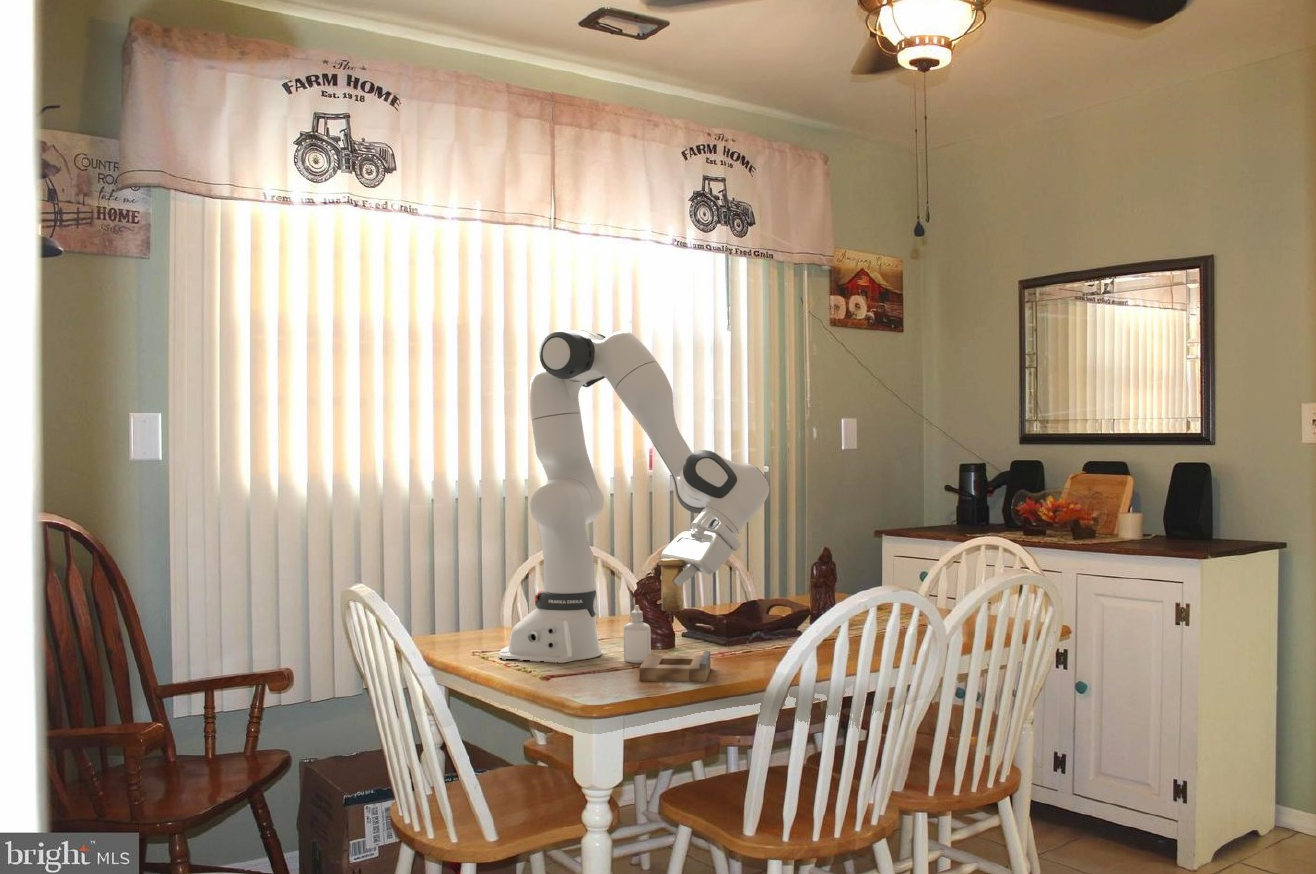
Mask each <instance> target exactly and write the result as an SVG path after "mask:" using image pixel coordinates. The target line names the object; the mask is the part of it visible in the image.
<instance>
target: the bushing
mask: <svg viewBox="0 0 1316 874" xmlns="http://www.w3.org/2000/svg"><path fill="white" fill-rule="evenodd" d="M658 565H659V566H660V573H661V574H660V577H661V579H660V580H661V583H660V585H661V611H663V612H665V611H666V612H680V611H684V609H685V607H684V606H685V604H684V603H685V602H684V601H685V600H684V599H685V597H684V596H685V595H684V591H685V590H684V584H683V585H682V586H681V587H679V586H676V585H675V584H674V583H673V582H672V579H673V578H674V577H675V576H676V575H677V574H678V575H679V574H680V573H681V572H682V571H683V570H684V569H683V565H686V563H685V562H684V560H681V559H676V558H665V559H663V558H660V559H658Z"/></svg>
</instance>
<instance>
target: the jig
mask: <svg viewBox="0 0 1316 874" xmlns="http://www.w3.org/2000/svg"><path fill="white" fill-rule="evenodd" d="M638 670H639V677H638V678H639V681H641V682H642V681H643V682H644V681H646V682H685V683H686V682H687V683H689V682H692V683H693V682H695V683H696V682H698V683H706V682H707V680H708V677H709V674H710V671H711V651H710V650H704V651H703V654H702V655H679V654H678V655H674V654H673V655H668V654H667V655H666V654H665V655H664V654H663V655H662V654H661V655H660V654H651V655H648V656H647V657H646V659H645V660H644V662H643V663H641V665H640V666H639V669H638Z"/></svg>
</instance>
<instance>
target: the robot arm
mask: <svg viewBox="0 0 1316 874" xmlns="http://www.w3.org/2000/svg"><path fill="white" fill-rule="evenodd" d="M538 356H539V360H540V364H541V366H542V368H543V369H540V370H539V371H537V372H536V373H535V374H534V375H533V376H532V377H531V380H530V385H529V386H530V387H529V410H530V419H531V425H532V427H531V428H532V433H533V438H534V439H533V440H534V445H535V446H534V447H535V452H536V453H535V454H536V456H537V459H538V460H539V461H540V463H541V464H542V467H543V469H544V472H545V475H546V478H547V480H548V481H547V482H545V483H543V484H542V485H540V486H539V487H538V488H537V489H536V490H535V491H533V494H532V495H531V499H530V502H529V505H530V506H529V507H530V508H529V509H530V513H531V515H532V517H533V519H534V520H535V522H536V526H537V530H538V535H539V539H540V544H541V550H542V555H543V589H541V590H539V591H537V594H535V596H534V603H535V608H534V609H533V610H531V611H530V612H529V613H528V614H526V615H525V616H524V617H523V618H522V619H521V620H519V621H518V622H517V623H516V624H515V625H514V626H513V628H512V629H511V632H510V634H509V635H510V637H509V642H508V643H509V644H508V645H507V646H505V647H503V648H501V649H500V651H499V652H498V658H499V659H500V658H502V659H501V660H506V659H520V660H519V661H523V660H530V661H529V662H540V661H544V662H543V663H557V662H558V664H559V663H560V664H563V663H568V662H572V661H580V660H587V659H592V658H597V657H599V656H601V655H602V654H603V653H602V649H601V646H600V641H599V637H598V635H599V634H598V629H597V622H596V615H597V608H598V606H597V604H598V603H597V601H598V600H597V591H596V589H595V560H594V559H595V556H594V553H593V550H592V549H591V546H590V542H589V537H588V532H587V528H586V527H587V525H588V524H590V523H592V522H594V521H595V519H597V518H598V517H599V515H601V513H602V511H603V509H604V505H605V498H604V497H605V496H604V494H603V491H602V489H601V488H600V486H599V484H598V482H597V478H596V476H595V472H594V468H593V466H592V463H591V460H590V458H589V455H588V450H587V445H586V441H585V435H584V434H585V433H584V427H583V420H582V414H581V409H580V408H581V407H580V402H579V401H580V400H579V394H580V390H581V388H582V387H583V388H589V387H591V386H593V385H594V384H596V383H598V382H600V381H602V380H603V379H606V380H607V381H608V383H609V384H610V385H611V387H612V389H613V391H615V393H616V394H617V396H618V398H619V399H620V400H621V402H622V403H623V404H624V406H625V407H626V408H627V410H628V411H629V412H630V413H631V415H632V417H633V418H634V419H635V420H636V421H637V423H638V424H639V425H640V426H641V428H642V430H643V431H644V432H645V433H646V435H647V436H648V438H649V439H650V440H651V443H652V445H653V447H655V449H656V451H657V453H658V454H659V456H660V457H661V459H662V461H663V462H664V464H665V466H666V467H667V469H668V470H669V473H670V474H671V476H672V479H673V481H674V483H673V484H674V488H675V489H674V490H675V494H676V498H677V500H678V502H679V504H680V505H681V507H682V508H684V509H685V510H687V511H688V512H691V513H694V514H698V515H697V516H696V517H695V518H694V520H692V522H691V523H690V527H691V529H690V530H689V531H688V530H687V531H686V530H684V531H681V532H680V533H679V534H678V535H677V536H676V537H674V538H673V540H672V541H671V542H670V543H669V544H668V545H667V546H666V547H665V548H664V549H663V550H662V552H661V555H660V558H661V559H665V558H676V559H681V560H684V562H685V563H686V565H683V571H682V572H681V573H680V574H679V575H678V574H677V575H676V576H675V577H674V578H673V579H672V582H673V583H674V584H675V585H676V586H679V587H681V586H682V585H683V586H684V584H685V582H686V581H688V580H690V579H691V578H693V577H694V576H695V575H696V573H700V574H705V575H708V576H709V575H710V576H711V575H712V574H715V572H717V571H718V570H719V569H720V568H721V567H722V566H723V565H724V564H725V563H726V562H727V561H728V560H729V558H730V557H731V556H732V554H733V552H736V551H738V550H739V549H740V548H741V546H742V542H741V541H740V540H739V539H738V536H739V534H740V533H741V531H742V528H743V527H744V525H746V524H747V523H748V522H750V521H751V520H752V519H753V518H754V517H755V516H756V514H757V513H758V512H759V511H760V509H761V508H762V506H763V505H764V504H765V502H766V500H767V499H768V496H769V494H770V493H769V492H770V485H769V481H768V480H767V477H766V476H765V474H764V473H763V472H762V471H761V470H760V469H759V468H758V467H757V466H755V465H754V464H751V463H743V462H742V463H741V462H736V461H733V460H730V459H727V458H724V457H723V456H720V454H718V453H716V452H714V451H711V450H706V449H704V450H703V449H701V450H697V451H694V452H692V450H691V448H690V446H689V445H688V443H687V442H686V440H685V439H684V436H682V433H681V431H680V430H679V428H678V425H677V422H676V417H675V411H674V410H675V409H674V395H673V394H674V393H673V392H674V391H673V389H672V387H671V384H670V381H669V379H668V377H667V375H666V373H665V371H664V370H663V368H662V367H661V365H660V364H659V362H658V361H657V359H656V358H655V356H654V355H653V354H652V353H651V351H650V350H649V349H648V348H647V347H646V346H645V345H644V343H643V342H642V341H641V340H640V339H639V338H637V337H636V335H634V334H633V333H632V332H630V331H625V330H620V331H619V330H618V331H615V332H613V333H611V334H608V335H607V336H605V335H604V334H601V333H595V332H591V331H589V330H582V329H581V330H571V329H560V330H556V331H554V332H551V333H550V334H548V335H547V336H546V337H545V338H544V339H543V340H542V343H541V345H540V347H539V355H538ZM660 580H661V576H660Z"/></svg>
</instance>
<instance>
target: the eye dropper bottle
mask: <svg viewBox="0 0 1316 874" xmlns="http://www.w3.org/2000/svg"><path fill="white" fill-rule="evenodd" d="M630 613H631V622H628V623H627V624H625V625H624V626H623V661H624V662H625V663H629V662H630V663H631V664H642V663H643V662H644V660H645V659H646V657H647V656H648V655H652V651H651V649H652V646H651V645H652V644H651V643H652V642H651V641H652V640H651V637H652V635H651V626H650V625H649V624H648V623H646V622H643V621H644V617H643V613H644V612H643V611H642V610H641V609H640V606H639V604H636V605H635V606H634V609H633V610H632V611H631V612H630Z"/></svg>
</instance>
